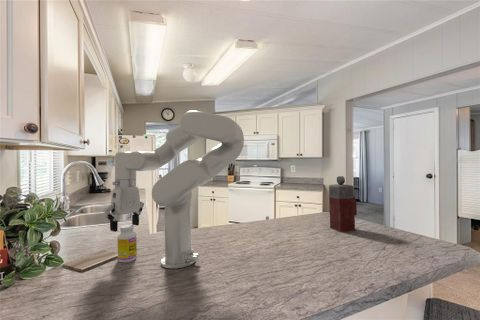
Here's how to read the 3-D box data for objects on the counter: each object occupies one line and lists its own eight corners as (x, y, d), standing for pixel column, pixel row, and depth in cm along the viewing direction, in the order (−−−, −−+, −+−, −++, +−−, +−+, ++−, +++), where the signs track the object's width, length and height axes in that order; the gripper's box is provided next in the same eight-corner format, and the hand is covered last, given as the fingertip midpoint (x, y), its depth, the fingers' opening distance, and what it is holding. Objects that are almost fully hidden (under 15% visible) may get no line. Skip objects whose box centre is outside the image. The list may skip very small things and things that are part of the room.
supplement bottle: (129, 263, 90) (128, 228, 91) (113, 262, 92) (113, 228, 92) (140, 256, 97) (139, 224, 97) (125, 256, 98) (125, 224, 99)
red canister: (359, 230, 126) (357, 176, 127) (340, 232, 124) (338, 176, 124) (348, 226, 135) (346, 175, 135) (329, 227, 132) (328, 176, 133)
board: (123, 255, 98) (123, 253, 98) (82, 272, 84) (82, 269, 84) (103, 251, 104) (103, 249, 104) (62, 266, 89) (62, 264, 89)
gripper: (111, 186, 85) (111, 235, 85) (149, 182, 101) (149, 224, 101) (97, 185, 89) (97, 232, 89) (137, 181, 104) (136, 222, 104)
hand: (125, 227), depth 95 cm, fingers open, 9 cm apart
